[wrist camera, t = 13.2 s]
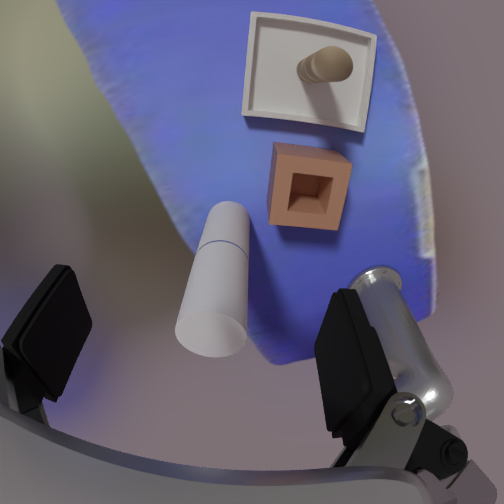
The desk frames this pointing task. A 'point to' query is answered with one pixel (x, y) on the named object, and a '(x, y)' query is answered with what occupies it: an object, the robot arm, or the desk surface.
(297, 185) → the deep holder
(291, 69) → the tray
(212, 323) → the cylindrical container
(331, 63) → the dowel pin
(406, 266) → the desk surface
